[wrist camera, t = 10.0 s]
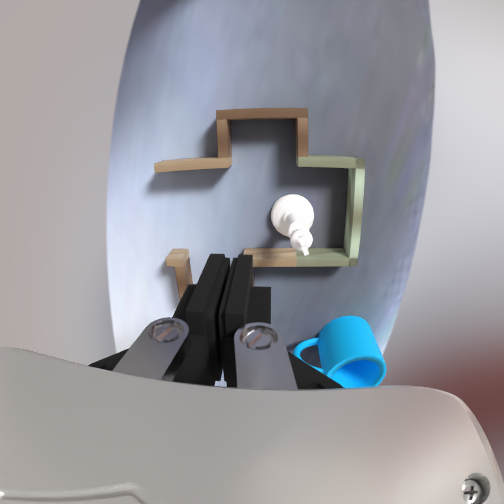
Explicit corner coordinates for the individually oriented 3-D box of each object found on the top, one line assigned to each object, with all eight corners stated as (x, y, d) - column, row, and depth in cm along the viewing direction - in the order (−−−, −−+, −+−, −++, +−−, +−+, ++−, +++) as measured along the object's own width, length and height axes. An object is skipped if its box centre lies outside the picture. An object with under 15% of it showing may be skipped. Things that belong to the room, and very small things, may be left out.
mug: (377, 316, 38) (395, 353, 31) (362, 358, 41) (374, 396, 34) (295, 313, 39) (299, 354, 31) (287, 357, 42) (289, 398, 34)
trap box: (161, 118, 30) (151, 118, 27) (357, 113, 28) (365, 112, 25) (179, 290, 38) (173, 302, 35) (346, 290, 37) (351, 302, 34)
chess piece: (279, 241, 35) (286, 283, 25) (264, 203, 33) (266, 233, 24) (318, 227, 34) (340, 264, 25) (305, 188, 32) (323, 212, 23)
